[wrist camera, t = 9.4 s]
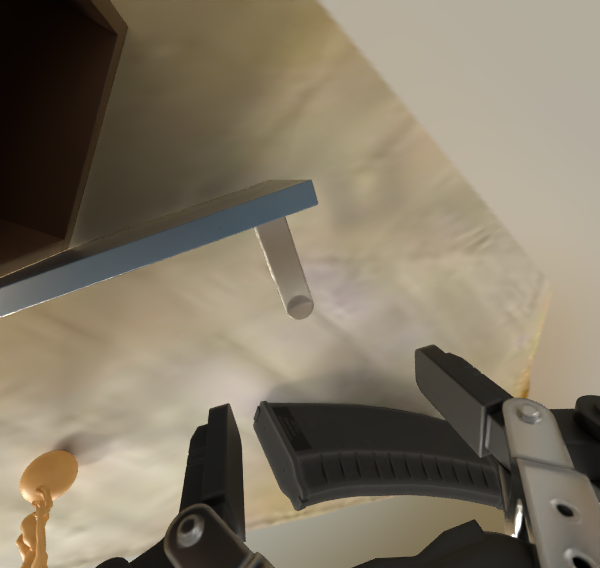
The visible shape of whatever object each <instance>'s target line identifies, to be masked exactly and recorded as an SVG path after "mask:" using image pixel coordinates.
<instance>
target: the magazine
mask: <svg viewBox="0 0 600 568" xmlns="http://www.w3.org/2000/svg"><path fill="white" fill-rule="evenodd" d="M253 426H254V430H255V432H256V434H257V437H258V439H259V441H260V443H261V446H262V448H263V450H264V453H265V455H266V457H267V459H268V462H269V464H270V466H271V469H272V471H273V473H274V475H275V478H276V480H277V482H278V485H279V487H280V489H281V490H282V492H283V493H284V494H285V495H286V496H287V497H288V498H289V499H290V500H291V502H292V505H293V507H294V509H295V510H297V511H299V510H302V509H304V508H306V506H310V505H313V504H317V503H320V502H324V501H329V500H334V499H340V498H347V497H356V496H390V495H419V496H432V497H442V498H451V499H459V500H465V501H470V502H475V503H480V504H485V505H489V506H494V507H496V508H497V509H500V510H503V505H502V498H501V491H500V485H499V478H498V471H497V458H496V457H495V456H494V455H493V454H490V455H487V456H484V457H482V458H480V457H479V456H478V454H477V453H476V452H475V451H474V450H473V449H472V448H471V447H470V446H469V444H468V443H467V442H466V441H465V440H464V439H463V438H462V437H461V436H460V434H459V433H458V432H457V431H456V430H455V429H454V428H453V427H452V426H451V424H450V423H449V422H448V421H447V420H442V419H438V418H434V417H430V416H425V415H421V414H416V413H411V412H406V411H400V410H394V409H387V408H379V407H370V406H360V405H346V404H325V403H267V401H261V403H260V406H258V407H257V410H256V413H255V416H254V424H253Z"/></svg>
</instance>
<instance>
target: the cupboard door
mask: <svg viewBox="0 0 600 568" xmlns="http://www.w3.org/2000/svg"><path fill="white" fill-rule="evenodd" d="M316 205H318V201H317V197H316V193H315V190H314V186H313V183H312V180H269V181H267V182H264V183H261V184H258V185H255V186H252V187H249V188H246V189H243V190H240V191H237V192H234V193H231V194H229V195H226V196H223V197H220V198H217V199H214V200H211V201H208V202H205V203H202V204H199V205H196V206H193V207H191V208H188V209H185V210H182V211H179V212H176V213H173V214H170V215H167V216H164V217H161V218H158V219H156V220H153V221H150V222H147V223H144V224H141V225H138V226H135V227H132V228H129V229H126V230H123V231H120V232H118V233H115V234H112V235H109V236H106V237H103V238H100V239H97V240H94V241H91V242H88V243H85V244H82V245H80V246H77V247H74V248H72V249H69V250H67V251H64V252H62V253H60V254H57V255H55V256H52V257H50V258H48V259H45V260H43V261H40V262H38V263H36V264H33V265H31V266H29V267H26V268H24V269H21V270H19V271H17V272H14V273H12V274H9V275H7V276H5V277H2V278H0V317H3V316H6V315H9V314H12V313H15V312H17V311H20V310H23V309H26V308H29V307H31V306H34V305H37V304H40V303H43V302H46V301H48V300H51V299H54V298H57V297H60V296H62V295H65V294H68V293H71V292H74V291H76V290H79V289H82V288H85V287H88V286H91V285H93V284H96V283H99V282H102V281H105V280H107V279H110V278H113V277H116V276H119V275H121V274H124V273H127V272H130V271H133V270H136V269H138V268H141V267H144V266H147V265H150V264H152V263H155V262H158V261H161V260H164V259H167V258H169V257H172V256H175V255H178V254H181V253H183V252H186V251H189V250H192V249H195V248H197V247H200V246H203V245H206V244H209V243H212V242H214V241H217V240H220V239H223V238H226V237H228V236H231V235H234V234H237V233H240V232H242V231H245V230H248V229H251V228H254V230H255V233H256V235H257V238H258V241H259V243H260V246H261V249H262V251H263V254H264V257H265V259H266V262H267V265H268V267H269V270H270V273H271V275H272V278H273V280H274V283H275V285H276V288H277V290H278V293H279V295H280V298H281V300H282V302H283V305H284V307H285V310H286V312H287V314H288V315H289V316H290V317H291V318H293V319H297V320H300V319H304V318H306V317H308V316H309V315H310V314H311V312H312V310H313V306H314V304H313V300H312V297H311V294H310V291H309V288H308V285H307V282H306V279H305V276H304V273H303V269H302V266H301V263H300V260H299V257H298V254H297V251H296V248H295V245H294V242H293V239H292V236H291V233H290V230H289V227H288V224H287V221H286V218H285V216H287V215H290V214H293V213H296V212H299V211H302V210H304V209H307V208H310V207H313V206H316Z"/></svg>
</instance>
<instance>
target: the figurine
mask: <svg viewBox="0 0 600 568" xmlns="http://www.w3.org/2000/svg"><path fill="white" fill-rule="evenodd" d="M77 472H78V463H77V460H76V458H75V457H74V456H73V455H72V454H71V453H69V452H67V451H62V450H56V451H51V452H48V453H45V454H43V455H41V456H39V457H38V458H36V459H35V460H34V461H33V462H32V463H31V464H30V465H29V466H28V467H27V468H26V470H25V471H24V473H23V475H22V478H21V481H20V491H21V494H22V496H23V497H24V498H25V499H26V500H28V501H29V502H32V506H34V507H36V511H35V512H33V513H32V514H30V515H28V516H27V517H26V518H25V519H24V520H23V521H22V523H21V526H20V528H21V531H22V534H21V535H20V536H19V538H18V539H17V541H16V545H17V546H18V548H19V551H20V555H21V556H22V558H23V564H22V566H21V568H48V566H47V559H48V555H47V553H46V537H45V525H46V522H47V520H48V519H49V511H50V509H51V507H52V506H53V501H52V500H54V499H56V498H58V497H60V496H61V495H62V494H64V493H65V492H66V491H67V490H68V489H69V488H70V487H71V485H72V484H73V482H74V481H75V478H76V476H77ZM36 518H37V520H36Z"/></svg>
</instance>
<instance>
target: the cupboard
mask: <svg viewBox="0 0 600 568" xmlns="http://www.w3.org/2000/svg"><path fill="white" fill-rule="evenodd" d="M127 29H128V26H127V25H126V23H125V22H124V20H123V19H122V17H121V16H120V14H119V13H118V12H117V10H116V9H115V7H114V6H113V4H112V3H111V1H110V0H0V277H1V276H3V275H6V274H8V273H11V272H13V271H15V270H18V269H20V268H23V267H25V266H28V265H30V264H32V263H35V262H37V261H40V260H42V259H45V258H47V257H49V256H52V255H54V254H57V253H59V252H62V251H64V250H66V249H68V247H69V243H70V240H71V236H72V232H73V229H74V225H75V221H76V217H77V214H78V210H79V206H80V203H81V199H82V195H83V192H84V188H85V184H86V180H87V177H88V173H89V169H90V166H91V162H92V158H93V155H94V151H95V147H96V143H97V140H98V136H99V132H100V129H101V125H102V121H103V117H104V114H105V110H106V106H107V103H108V99H109V95H110V92H111V88H112V84H113V80H114V77H115V73H116V69H117V66H118V62H119V58H120V55H121V51H122V47H123V43H124V40H125V36H126V32H127Z"/></svg>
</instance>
